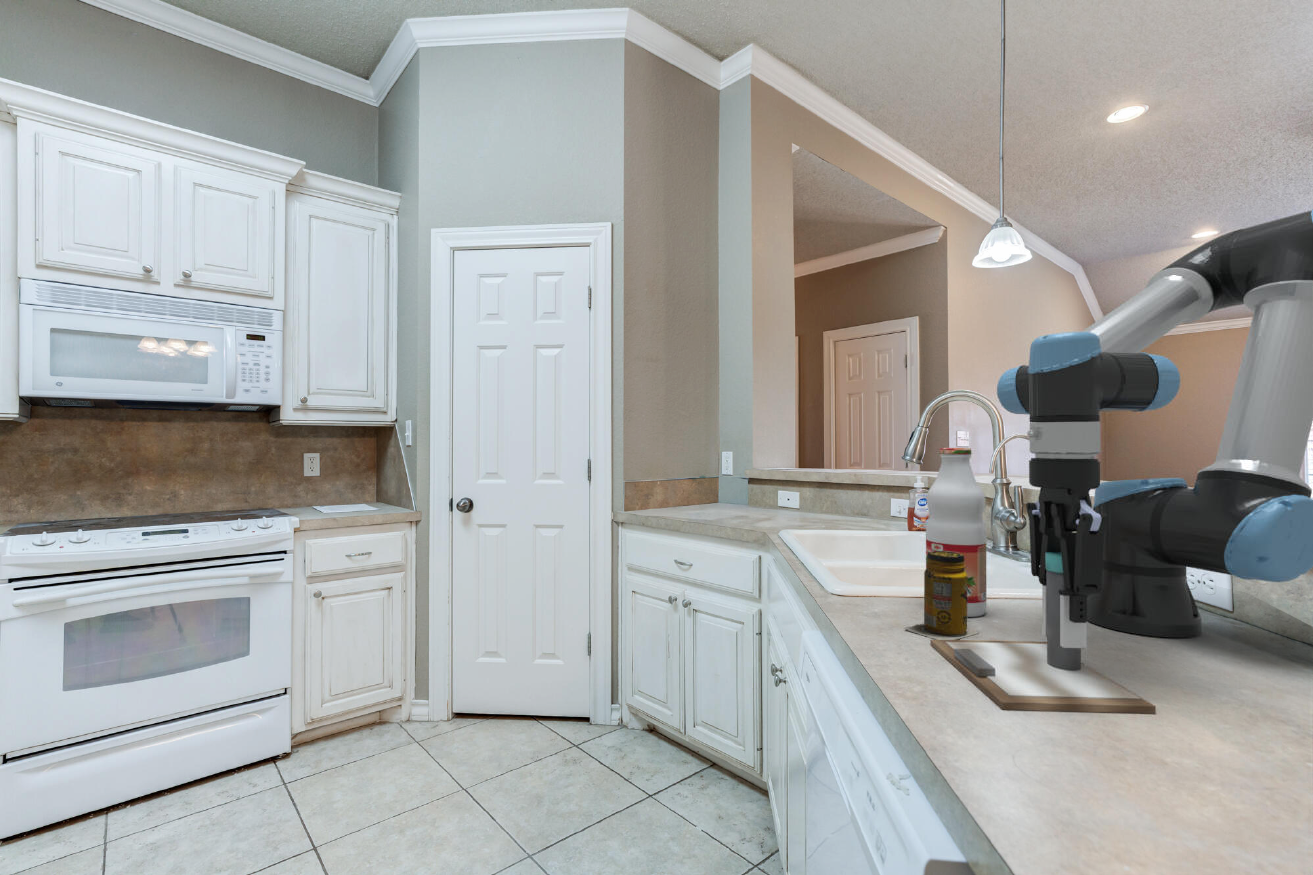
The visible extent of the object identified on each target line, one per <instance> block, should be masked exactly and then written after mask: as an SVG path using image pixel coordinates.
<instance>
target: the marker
mask: <svg viewBox="0 0 1313 875" xmlns="http://www.w3.org/2000/svg"><path fill="white" fill-rule="evenodd" d="M1045 568H1046V581H1047V637H1046V642H1047V664H1048V665H1050V666H1052V667H1055V668H1058V669H1062V670H1070V671H1076V670H1080V669H1081V663H1082V648H1063V647H1062V646H1060V593H1059V590H1065V587H1064V576H1063V566H1062V555H1061V552H1046V553H1045Z"/></svg>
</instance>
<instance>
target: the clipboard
mask: <svg viewBox="0 0 1313 875" xmlns="http://www.w3.org/2000/svg"><path fill="white" fill-rule="evenodd" d="M930 647H932V648H933V649H934V650H935V651H936V652H938V653H939V654H940V655H941V656H942V657H943V658H944V659H945V660H947V661H948V662H949V663H950V665H952V666H953V667H955V669H956V670H958V671H959V673H961V674H962V675H963V676H964V677H965V678H966V679H968V680H969V682H971V683H972V684H973V685H975V687H977V688H978V690H980V691H981V692H982V693H983V694H984V695H985V696H987V698H989V700H991V701H992V702H993V703H995V705H997V706H998V707H999V708H1000V709H1001V710H1003V711H1004V710H1005V711H1006V710H1007V711H1041V712H1043V711H1044V712H1078V713H1079V712H1080V713H1081V712H1083V713H1084V712H1085V713H1088V712H1089V713H1118V714H1119V713H1120V714H1151V715H1152V714H1153V715H1156V714H1157V713H1156V712H1157V709H1156V705H1154V704H1152V703H1151V702H1149V701H1147V700H1146V699H1144V698H1142V697H1140V696H1139V695H1138V694H1136V693H1134V692H1133V691H1130V690H1129V689H1127V688H1125V687H1124V686H1122V685H1120V684H1119V683H1117V682H1116V681H1114V680H1112V679H1110V678H1109V677H1107V676H1105V675H1104V674H1102V673H1101V672H1098V671H1097V670H1095V669H1093V668H1092V667H1090V666H1088V665H1087V664H1085V663H1083V662H1081V669H1080V670H1076V671H1070V670H1062V669H1058V668H1055V667H1052V666H1050V665H1048V664H1047V641H1031V640H1030V641H1026V640H1025V641H1024V640H1022V641H1020V640H1014V641H1013V640H982V639H981V640H978V639H977V640H976V639H975V640H974V639H973V640H972V639H969V640H968V639H956V640H937V639H930Z"/></svg>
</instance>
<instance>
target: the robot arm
mask: <svg viewBox="0 0 1313 875" xmlns="http://www.w3.org/2000/svg"><path fill="white" fill-rule="evenodd" d="M1241 305H1245V306H1246V307H1247V308H1248V309H1249V310H1250V311H1252V312H1253V316H1252V319H1251V323H1250V326H1249V329H1248V330H1249V331H1248V335H1247V337H1246V342H1245V346H1244V350H1243V353H1242V358H1241V362H1240V366H1239V369H1238V373H1237V376H1236V377H1237V378H1236V381H1235V385H1234V387H1233V392H1232V395H1231V400H1230V405H1229V407H1228V411H1227V415H1226V419H1225V423H1224V428H1223V429H1222V430H1223V431H1222V434H1221V437H1220V438H1221V439H1220V443H1219V445H1218V450H1217V454H1216V458H1215V462H1213V463H1212V464H1211V465H1208V466H1206V467H1203V468H1202V469H1200V470H1199V471H1197V475H1196V480H1195V483H1194V487H1192V488H1189V485H1188V484H1187V481H1186V479H1185V478H1182V477H1164V478H1163V477H1162V478H1161V477H1160V478H1143V479H1141V478H1139V479H1123V480H1111V481H1109V480H1108V481H1103V482H1101V461H1099V459H1098V458H1095V456H1096V455H1099V454H1101V449H1102V448H1101V447H1102V446H1101V412H1119V411H1120V412H1122V411H1123V412H1125V411H1126V412H1128V411H1129V412H1130V411H1131V412H1134V413H1135V412H1145V411H1155V410H1159V409H1162V408H1164V407H1166V406H1168V405H1169V404H1170V403H1171V402H1172V401H1173V400H1174V399H1175V398H1176V396H1177V395H1178V393H1179V390H1180V387H1181V374H1180V371H1179V369H1178V367H1177V365H1176V364H1175V363H1174V362H1173V361H1172V360H1170V359H1169V358H1167V357H1166V356H1163V355H1158V354H1152V353H1147V352H1145V351H1144V352H1143V350H1145V349H1146V348H1148V347H1149V346H1151V345H1152V344H1154V343H1155V342H1157V341H1158V340H1159V339H1161V338H1162V337H1164V336H1165V335H1166V334H1168V333H1169V332H1171V331H1172V330H1174V329H1175V328H1177V327H1178V326H1179V325H1181V324H1188V323H1193V322H1196V321H1197V320H1200V319H1201V318H1203V317H1205V316H1206V315H1207V314H1209V313H1211V312H1214V311H1217V310H1221V309H1226V308H1231V307H1235V306H1241ZM997 381H998V382H997V385H996V394H997V398H998V401H999V403H1000V406H1002V408H1004V409H1005V410H1006V411H1007V412H1009V413H1010V414H1011V413H1012V414H1014V415H1028V416H1029V419H1028V420H1029V430H1027V432H1026V434H1027V437H1028V438H1029V453H1031V454H1034V456H1035V457H1031V458H1030V460H1028V483H1029V485H1030V486H1031V487H1036V488H1039V490H1040V491H1039V494H1038V498H1037V499H1038V500H1037V501H1036V502H1027V503H1026V505H1025V506H1026V508H1025V509H1026V513H1027V517H1028V522H1029V524H1028V525H1029V545H1030V546H1029V548H1030V572H1031V575H1032V576H1033V577H1038V582H1039V584H1040V585H1042V587H1041V588H1042V590H1041V591H1042V593H1041V594H1042V598H1041V599H1042V603H1041V604H1042V616H1041V617H1042V625H1041V626H1042V632H1041V635H1042V636H1043V637H1044V638H1047V581H1046V568H1045V553H1046V552H1061V555H1062V566H1063V576H1064V587H1065V590H1059V593H1060V646H1062V647H1063V648H1081V649H1087V647H1088V646H1087V644H1088V643H1087V634H1088V633H1087V632H1088V631H1087V622H1089V623H1093V624H1095V625H1097V626H1101V627H1103V628H1108V629H1111V630H1114V631H1115V630H1117V631H1120V632H1125V633H1131V634H1134V635H1135V634H1136V635H1143V636H1150V637H1160V638H1161V637H1162V638H1191V637H1197V636H1199V635H1202V633H1203V632H1202V631H1203V630H1202V628H1203V627H1202V623H1203V622H1202V616H1201V613H1200V612H1199V609H1198V606H1197V603H1196V601H1195V598H1194V595H1193V594H1192V591H1191V588H1190V586H1189V584H1188V578H1187V568H1191V569H1197V570H1203V571H1206V572H1212V573H1219V574H1224V575H1227V576H1228V575H1229V576H1233V577H1235V578H1239V579H1242V580H1249V581H1250V580H1257V581H1264V582H1269V583H1270V582H1271V583H1285V582H1289V581H1293V580H1296V579H1298V578H1299V577H1301V575H1306V573H1308V572H1309V571H1310V570H1311V569H1312V568H1313V498H1311V497H1312V493H1313V489H1312V488H1311V487H1310V486H1309V484H1307V482H1305V481H1304V480H1303V479H1302V478H1301V476H1300V474H1301V470H1302V465H1303V462H1304V459H1305V453H1306V450H1307V446H1308V442H1309V437H1310V433H1311V430H1312V424H1313V208H1312V209H1311V210H1307V211H1304V212H1299V213H1297V214H1292V215H1289V216H1285V217H1282V218H1278V219H1274V220H1271V221H1267V222H1263V223H1259V224H1256V225H1252V226H1248V227H1245V228H1239V229H1237V230H1233V231H1230V232H1227V233H1225V234H1222V235H1219V236H1218V237H1216V238H1213V239H1212V240H1209V241H1208V242H1205V243H1203V244H1202V245H1200V246H1198V247H1196V248H1195V249H1193V250H1191V251H1189V252H1188V253H1186V254H1185V255H1183V256H1181V257H1180V258H1178V259H1177V260H1175V261H1174V262H1172V263H1171V264H1169V265H1167V266H1166V267H1164V268H1162V269H1161V270H1160V271H1158V272H1157V273H1155V274H1153V276H1152V277H1151V278H1150V279H1149V280H1148V281H1147V283H1146V287H1145V288H1144V289H1143V290H1141V291H1140V292H1138V293H1137V294H1135V295H1133V297H1131V298H1130V299H1128V300H1126V301H1125V302H1124V303H1122V304H1121V305H1119V306H1117V307H1116V308H1114V309H1113V310H1112V311H1110V312H1109V313H1107V314H1105V315H1104V316H1103V317H1101V318H1100V319H1098V320H1096V322H1095V321H1094V323H1093V324H1091V325H1090V326H1088V327H1086V328H1085V329H1083V331H1069V332H1068V331H1066V332H1058V333H1051V334H1046V335H1041V336H1038V337H1036V338H1035V339H1033V341H1032V342H1031V343H1030V348H1029V360H1028V365H1027V364H1026V365H1025V364H1022V365H1018V366H1017V367H1012V368H1009V369H1007V370H1006V371H1004V372H1003V373H1002V375H1000V377H999V379H998V380H997ZM1091 490H1094V498H1093V500H1094V501H1093V503H1092V500H1091V497H1090V492H1091ZM1092 504H1093V505H1092Z"/></svg>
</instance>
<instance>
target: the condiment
mask: <svg viewBox="0 0 1313 875" xmlns="http://www.w3.org/2000/svg"><path fill="white" fill-rule="evenodd" d="M927 559H928V561H927V564H926V563H925V566H926V565H927V568H926V567H925V570H924V574H923V576H924V577H923V579H924V580H923V584H924V586H923V587H924V588H923V590H924V592H923V596H924V597H923V598H924V599H923V608H924V609H923V618H924V619H923V623H920V624H915V625H912V626H907V627H904V628H903V629H904V630H906V631H908V632H911V633H913V634H914V633H915V634H918V635H920V636H924V637H926V638H928V639H933V640H960V639H963V638H968V637H971V636H973V635H977V634H979V633H980V631H979V630H978V631H977V630H974V629H969V628H968V617H967V574H966V572H965V571H964V569H965V564H964V560H965V558H964V555H962V554H959V553H955V552H948V551H932V552H928V555H927Z"/></svg>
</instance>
